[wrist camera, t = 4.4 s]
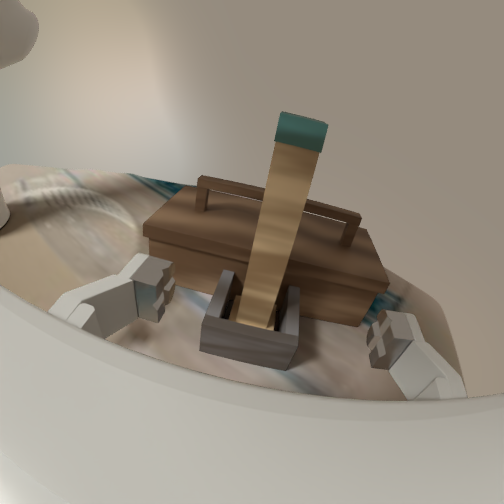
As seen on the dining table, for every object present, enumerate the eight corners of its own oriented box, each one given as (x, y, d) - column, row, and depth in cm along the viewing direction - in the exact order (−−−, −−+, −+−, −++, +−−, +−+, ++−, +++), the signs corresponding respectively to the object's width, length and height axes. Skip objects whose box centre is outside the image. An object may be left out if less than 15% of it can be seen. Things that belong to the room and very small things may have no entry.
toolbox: (370, 382, 24) (432, 302, 18) (114, 322, 25) (98, 222, 19) (348, 270, 42) (375, 204, 36) (182, 230, 42) (188, 159, 36)
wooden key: (268, 347, 27) (339, 128, 15) (224, 337, 27) (269, 111, 16) (272, 317, 30) (330, 123, 19) (233, 308, 31) (274, 109, 19)
